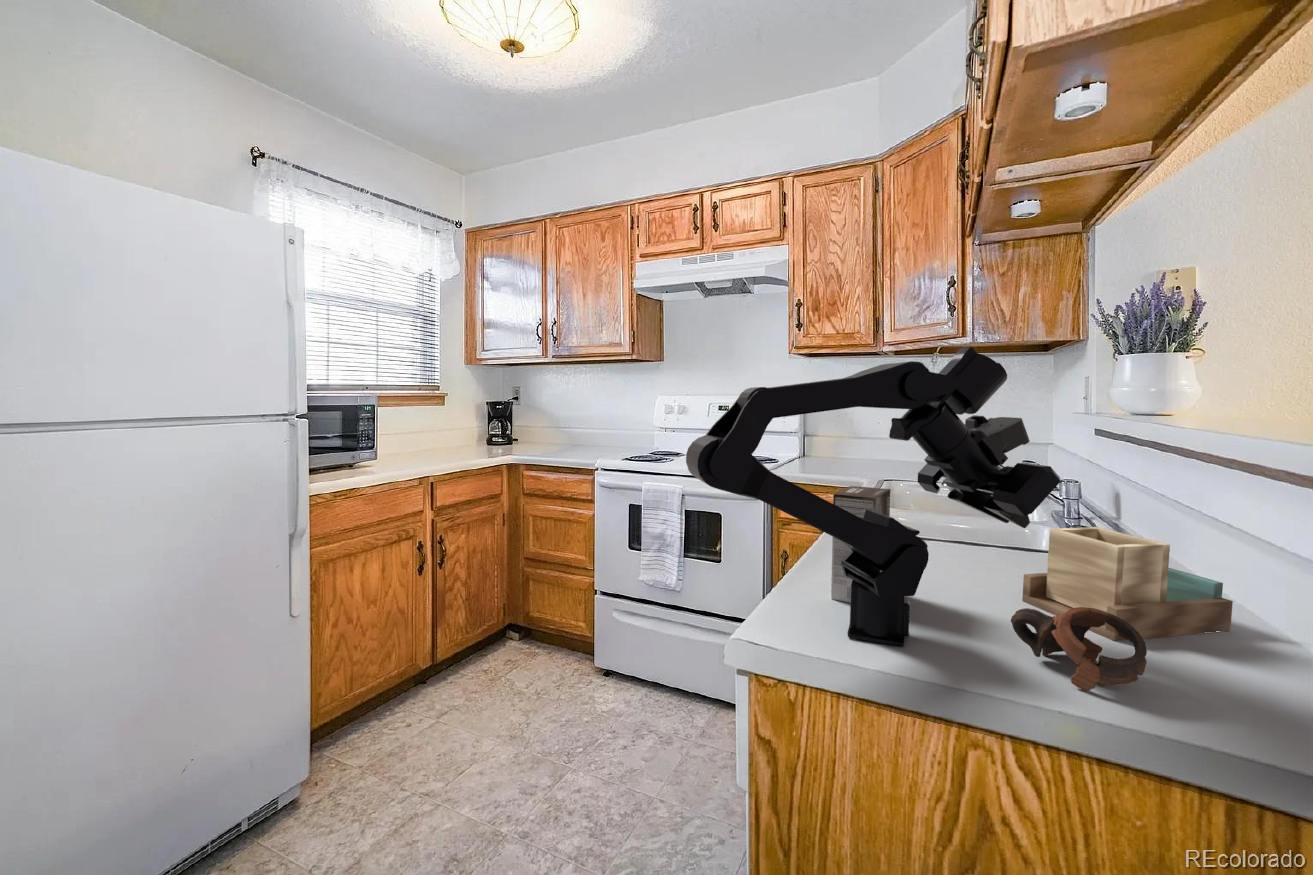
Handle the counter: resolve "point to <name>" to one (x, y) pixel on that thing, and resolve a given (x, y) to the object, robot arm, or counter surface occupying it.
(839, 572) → the coffee box
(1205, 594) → the bay
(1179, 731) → the counter surface
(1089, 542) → the crate
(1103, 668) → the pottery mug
